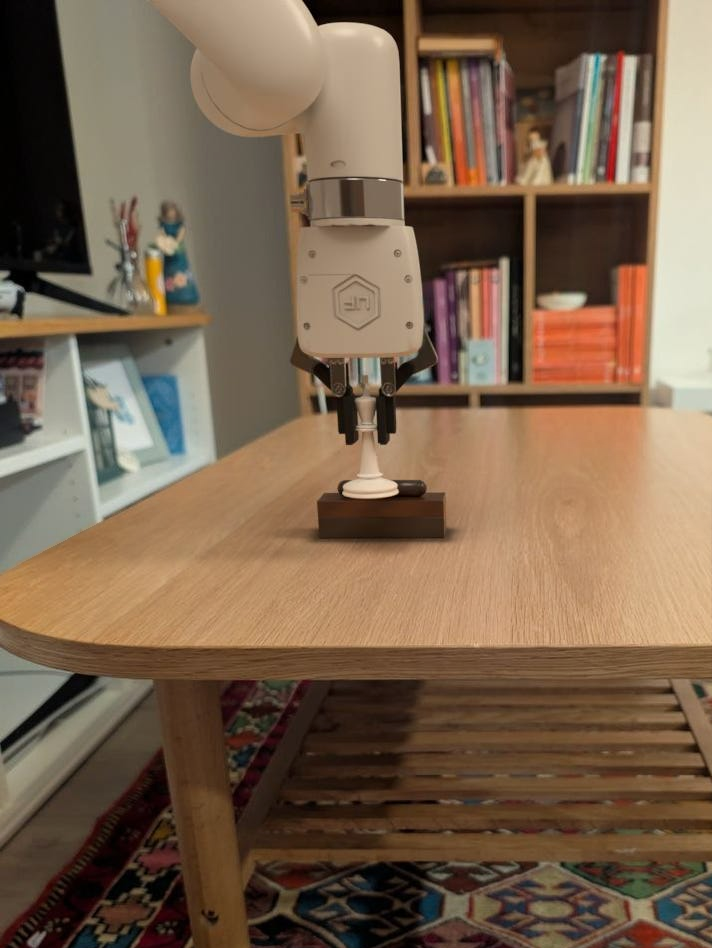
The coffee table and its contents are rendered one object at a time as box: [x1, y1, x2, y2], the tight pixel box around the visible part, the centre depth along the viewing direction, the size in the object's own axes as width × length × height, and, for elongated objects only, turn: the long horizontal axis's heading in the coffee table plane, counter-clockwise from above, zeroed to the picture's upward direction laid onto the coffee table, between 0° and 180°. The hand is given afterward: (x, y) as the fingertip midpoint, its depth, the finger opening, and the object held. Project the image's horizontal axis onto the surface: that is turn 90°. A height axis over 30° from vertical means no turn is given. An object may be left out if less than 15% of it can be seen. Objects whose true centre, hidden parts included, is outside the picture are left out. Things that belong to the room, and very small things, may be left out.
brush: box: [316, 479, 447, 539], centre depth 91 cm, size 12×4×5 cm, turn 89°
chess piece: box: [342, 374, 399, 499], centre depth 81 cm, size 5×5×10 cm
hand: (368, 441), depth 81 cm, fingers closed on chess piece
